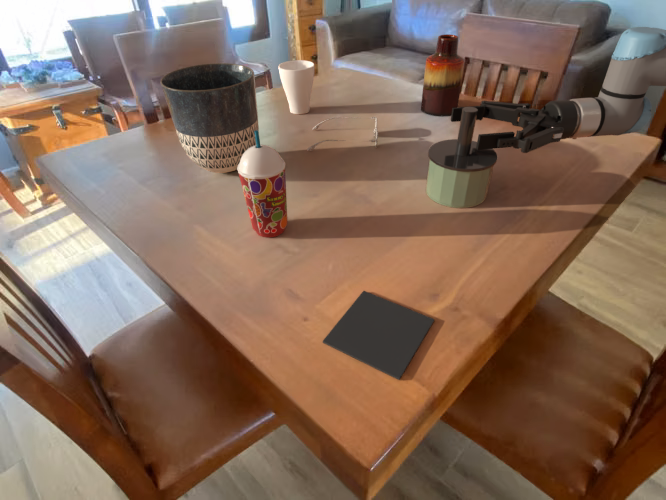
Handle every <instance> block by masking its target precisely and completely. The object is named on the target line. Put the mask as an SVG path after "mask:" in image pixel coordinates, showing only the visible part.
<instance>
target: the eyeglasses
mask: <svg viewBox="0 0 666 500" xmlns="http://www.w3.org/2000/svg"><path fill="white" fill-rule="evenodd" d="M334 119H360V117H354V116H353V117H346V116H345V117H344V116H343V117H341V116H340V117H339V116H338V117H336V116H335V117H331V118H327V119H325V120H322V121H320V122H319V123H317V124H316V125H314V127H312V131H317V130H318V129H319V128H320V126H321V125H322V124H323V123H325V122H327V121H329V120H334ZM370 120H374V129H373V138H375V139H371V140H370V142H371V143H375V149H377V148H378V139H379V138H378V137H379V131H378V118H377V116H371V117H370ZM325 142H345V140H344V139H343V140H341V139H340V140H339V139H325V140H321V141H319V142H316V143H314V144H312V145H311V146H309V147H308V148H307V149H306V150H307V152H312V151H313V150H314V149H315V147H316V146H318V145H320V144H322V143H325Z"/></svg>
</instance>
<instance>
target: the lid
mask: <svg viewBox="0 0 666 500" xmlns="http://www.w3.org/2000/svg"><path fill="white" fill-rule="evenodd" d="M463 107H464V108H463V109H462V115H461V121H459V127H458V133H457V138H456V139H455V138H452V139H445V140H440V141H438V142H435V143H433V144H432V145H430V147H429V148H428V151H427V156H428V157H427V158H428V160H429V159H430V160H431V161H432V162H433V163H435V164H436V165H438V166H440V167H443V168H446V169H449V170H454V171H461V172H476V171H482V170H486V169H489V168H491V167H492V166H495V165H496V164H497V162H498V158H499V157H498V153H497V152H496V151H495V149H484V150H477V149H476V145H477V141H475V140H473V138H474V132H475V126H476V122H477V120H476V117H477V111H478V109H477V108H474V107H470V106H463Z"/></svg>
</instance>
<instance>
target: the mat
mask: <svg viewBox="0 0 666 500" xmlns="http://www.w3.org/2000/svg"><path fill="white" fill-rule="evenodd" d="M434 323H435V318H433V317H430V316H428V315H425V314H422V313H420V312H417V311H415V310H413V309H411V308H408V307H405V306H403V305H401V304H398V303H395V302H393V301H391V300H388V299H386V298H384V297H381V296H379V295H376V294H374V293H371V292H368V291H366V290H363V291H362V292H361V293H360V294H359V295H358V297H357V298H356V299H355V300H354V302H353V303H352V304H351V305H350V307H349V308H348V309H347V310H346V311H345V313H344V314H343V315H342V317H340V319H339V320H338V321H337V323H336V324H335V325H334V326H333V327H332V329H331V330H329V332H328V333H327V334H326V336H325V337H324V338H323V340H322V344H324V345H327V346H328V347H331V348H332V349H334V350H336V351H339V352H341V353H343V354H345V355H347V356H349V357H351V358H353V359H355V360H357V361H359V362H361V363H363V364H366V365H367V366H369V367H371V368H373V369H375V370H377V371H379V372H381V373H384V374H386V375H387V376H389V377H392V378H393V379H395V380H397V381H400V380H401V379H402V377H403V375H404V373H405V372H406V370H407V369H408V366H409V365H410V363H411V361H412V360H413V359H414V356H415V355H416V353H417V352H418V350H419V348H420V346H421V344H422V343H423V341H424V339H425V338H426V336H427V334H428V332H429V331H430V329H431V327H432V326H433V324H434Z"/></svg>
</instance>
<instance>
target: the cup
mask: <svg viewBox="0 0 666 500" xmlns="http://www.w3.org/2000/svg"><path fill="white" fill-rule="evenodd" d="M277 68H278V72H279V78H280V81H281V85H282V88H283V90H284V94H285V97H286V100H287V102H288V103H287V104H288V107H289V112H290V113H291V114H292V115H305V114H308V113H309V112H310V110H311V109H310V108H311V97H312V91H313V87H314V86H313V85H314V80H315V63H314V62H313V61H310V60H304V59H296V60H295V59H294V60H287V61H284V62H281V63H279V64H278V66H277Z"/></svg>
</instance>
